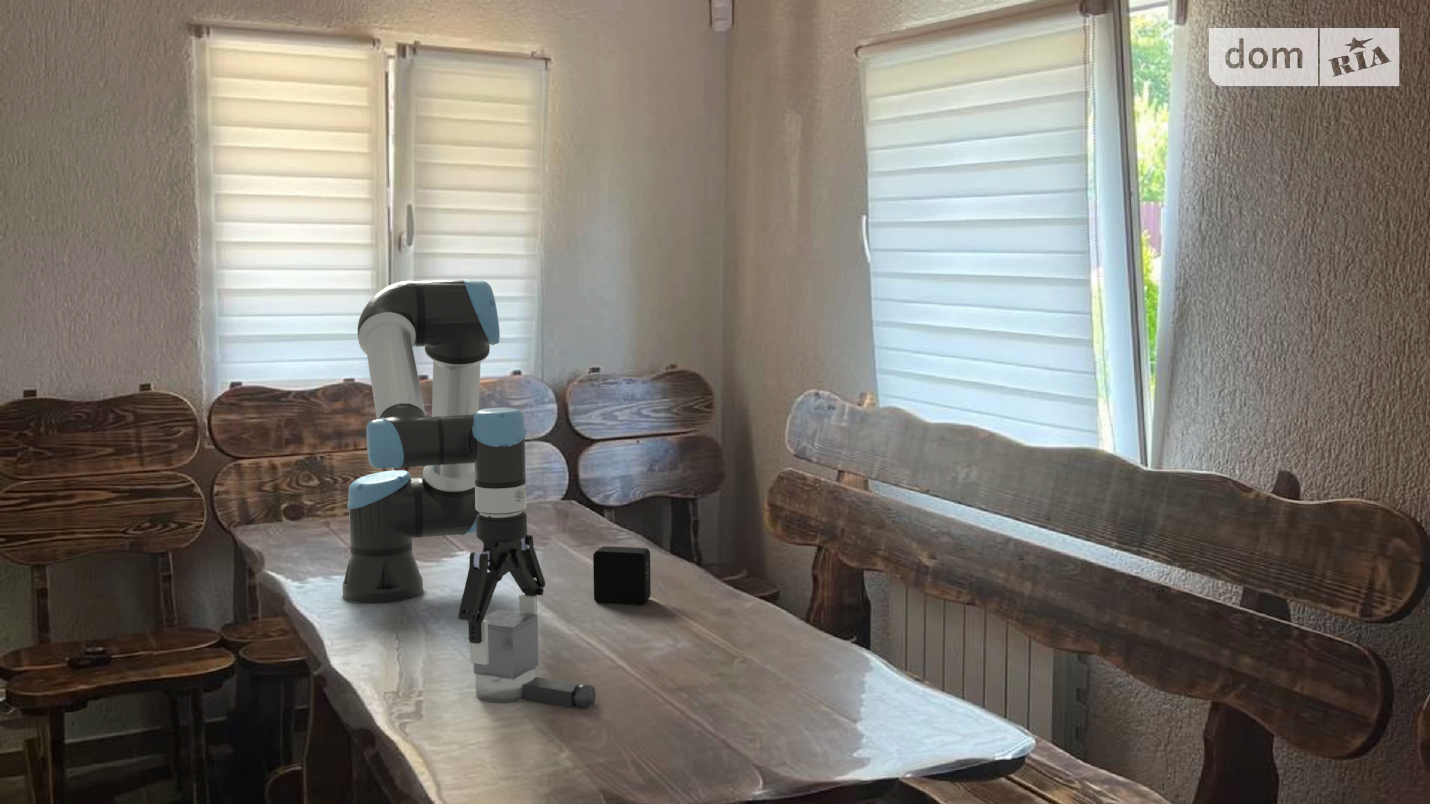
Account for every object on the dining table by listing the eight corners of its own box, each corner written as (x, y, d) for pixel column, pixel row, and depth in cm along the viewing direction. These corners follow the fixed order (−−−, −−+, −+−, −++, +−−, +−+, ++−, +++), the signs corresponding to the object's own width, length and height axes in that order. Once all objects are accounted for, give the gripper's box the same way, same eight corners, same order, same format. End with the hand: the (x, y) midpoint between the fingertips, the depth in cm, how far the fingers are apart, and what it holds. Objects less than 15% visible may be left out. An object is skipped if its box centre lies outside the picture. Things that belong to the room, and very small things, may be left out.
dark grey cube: (513, 679, 194) (512, 627, 193) (474, 673, 197) (472, 621, 196) (538, 665, 200) (537, 614, 199) (499, 659, 203) (498, 609, 202)
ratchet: (464, 701, 197) (462, 639, 195) (497, 682, 205) (495, 623, 203) (574, 719, 189) (573, 655, 188) (604, 699, 197) (603, 637, 196)
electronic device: (645, 605, 244) (644, 553, 243) (593, 602, 246) (593, 551, 245) (650, 599, 248) (650, 548, 247) (600, 596, 250) (599, 545, 249)
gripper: (475, 531, 182) (479, 678, 185) (565, 498, 205) (567, 629, 208) (430, 527, 185) (435, 671, 188) (524, 494, 208) (527, 623, 211)
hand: (504, 649), depth 198 cm, fingers open, 13 cm apart
